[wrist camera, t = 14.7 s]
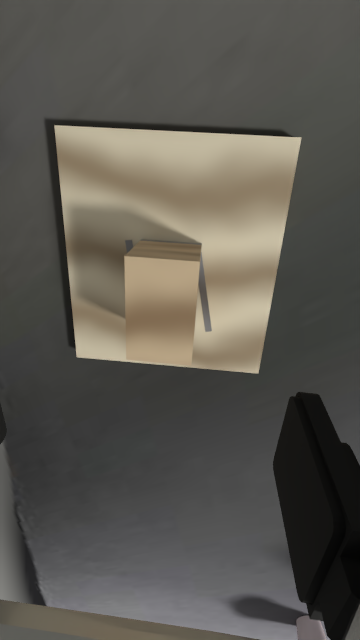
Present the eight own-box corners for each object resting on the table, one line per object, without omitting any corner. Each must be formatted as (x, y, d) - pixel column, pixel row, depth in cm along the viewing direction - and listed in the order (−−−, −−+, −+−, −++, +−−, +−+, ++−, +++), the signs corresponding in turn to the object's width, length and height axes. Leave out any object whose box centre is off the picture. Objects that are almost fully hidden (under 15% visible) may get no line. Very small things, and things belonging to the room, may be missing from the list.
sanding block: (141, 239, 27) (124, 256, 21) (201, 243, 26) (199, 261, 21) (141, 325, 30) (126, 359, 25) (194, 330, 30) (191, 365, 24)
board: (61, 127, 25) (54, 125, 24) (297, 139, 24) (301, 137, 23) (81, 351, 33) (76, 357, 32) (256, 366, 32) (258, 373, 31)
